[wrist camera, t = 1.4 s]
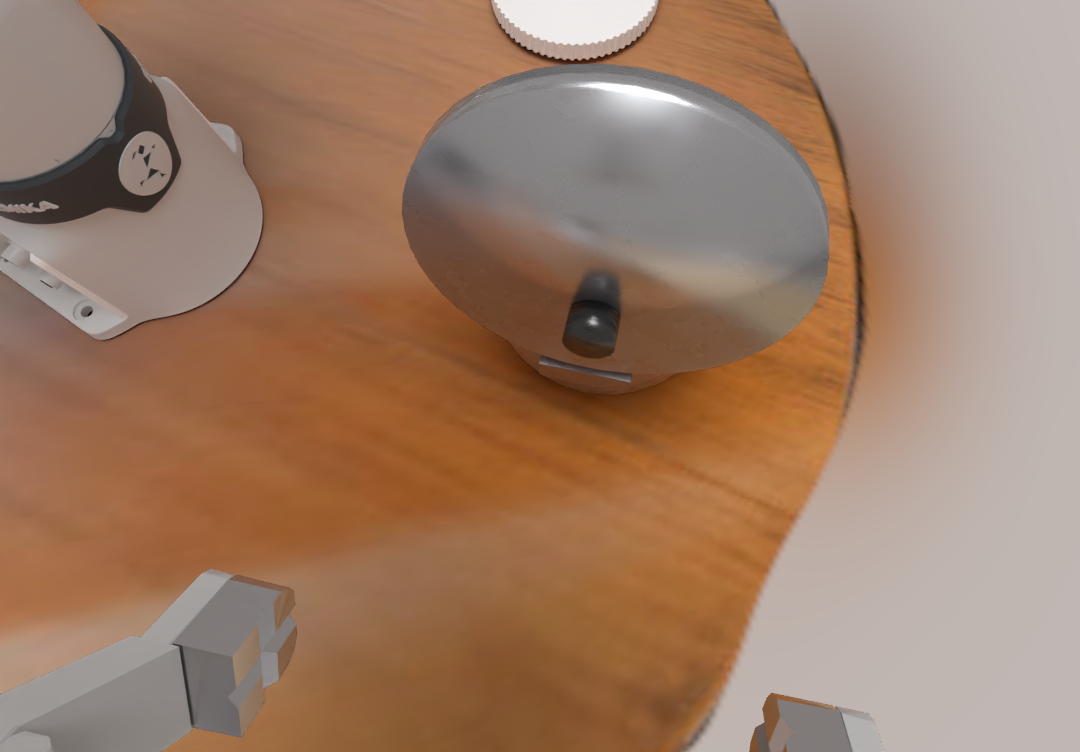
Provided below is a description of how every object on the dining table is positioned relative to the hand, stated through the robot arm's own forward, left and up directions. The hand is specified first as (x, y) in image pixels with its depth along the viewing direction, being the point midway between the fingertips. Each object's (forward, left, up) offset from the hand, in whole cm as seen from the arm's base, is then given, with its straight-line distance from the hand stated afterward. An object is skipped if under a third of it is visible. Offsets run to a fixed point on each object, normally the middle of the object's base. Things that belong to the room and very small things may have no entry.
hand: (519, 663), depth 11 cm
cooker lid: (-3, +15, -12) cm, 20 cm away
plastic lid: (-16, +46, -31) cm, 58 cm away
